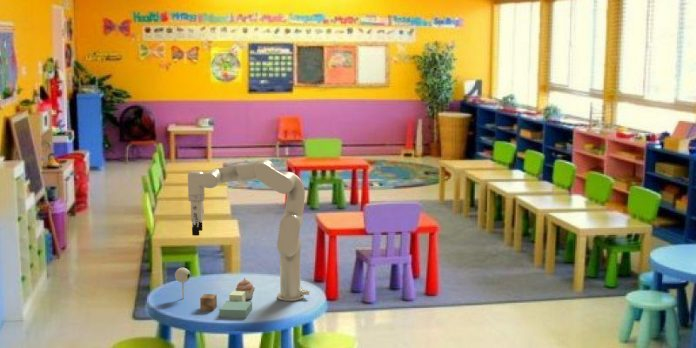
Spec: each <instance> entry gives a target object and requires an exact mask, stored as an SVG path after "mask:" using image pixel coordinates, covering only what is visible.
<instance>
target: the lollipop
mask: <svg viewBox="0 0 696 348" xmlns="http://www.w3.org/2000/svg"><path fill="white" fill-rule="evenodd" d="M174 278H175V280H176V281H177V282H178V283H181V284H182V286H181V287H182V289H181V291H182V299H183V300H184V299H185V289H184V288H185V285H184V284H185V283H187V282H188V281H189V280H190V278H191V271H190V270H189V269H188V268H186V267H179V268H177V270H176V271H175V272H174Z"/></svg>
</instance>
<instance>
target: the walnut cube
mask: <svg viewBox="0 0 696 348" xmlns="http://www.w3.org/2000/svg"><path fill="white" fill-rule="evenodd" d="M217 297H218V295H217V294H215V293H213V294H212V293H204V294H202V295H201V296H200V301H199V303H200V311H205V312H206V311H207V312H214V311H215V309H216V308H217V307H218V301H217V300H218V298H217Z"/></svg>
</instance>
